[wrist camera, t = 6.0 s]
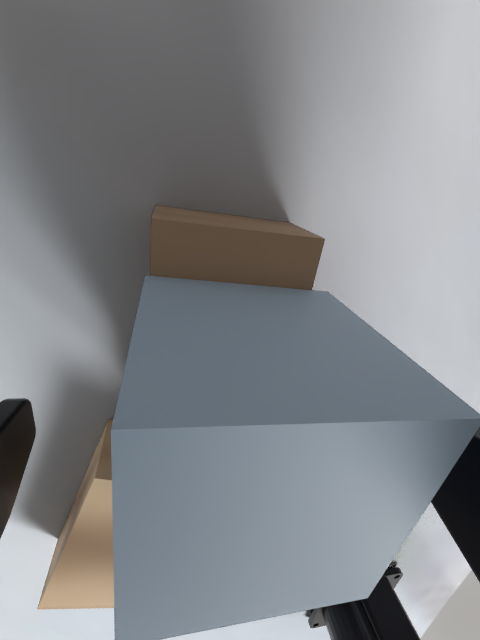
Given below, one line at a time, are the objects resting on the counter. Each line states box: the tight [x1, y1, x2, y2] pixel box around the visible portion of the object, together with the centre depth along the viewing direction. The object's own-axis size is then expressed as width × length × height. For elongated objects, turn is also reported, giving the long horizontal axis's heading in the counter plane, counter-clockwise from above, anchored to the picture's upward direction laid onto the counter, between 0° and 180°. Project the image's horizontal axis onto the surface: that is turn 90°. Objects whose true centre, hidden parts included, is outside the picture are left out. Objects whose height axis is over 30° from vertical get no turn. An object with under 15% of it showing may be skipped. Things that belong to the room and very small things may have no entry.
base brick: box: [150, 205, 325, 290], centre depth 10 cm, size 8×4×3 cm, turn 171°
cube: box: [111, 275, 480, 640], centre depth 7 cm, size 5×5×5 cm
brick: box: [37, 419, 114, 609], centre depth 13 cm, size 8×4×3 cm, turn 152°
